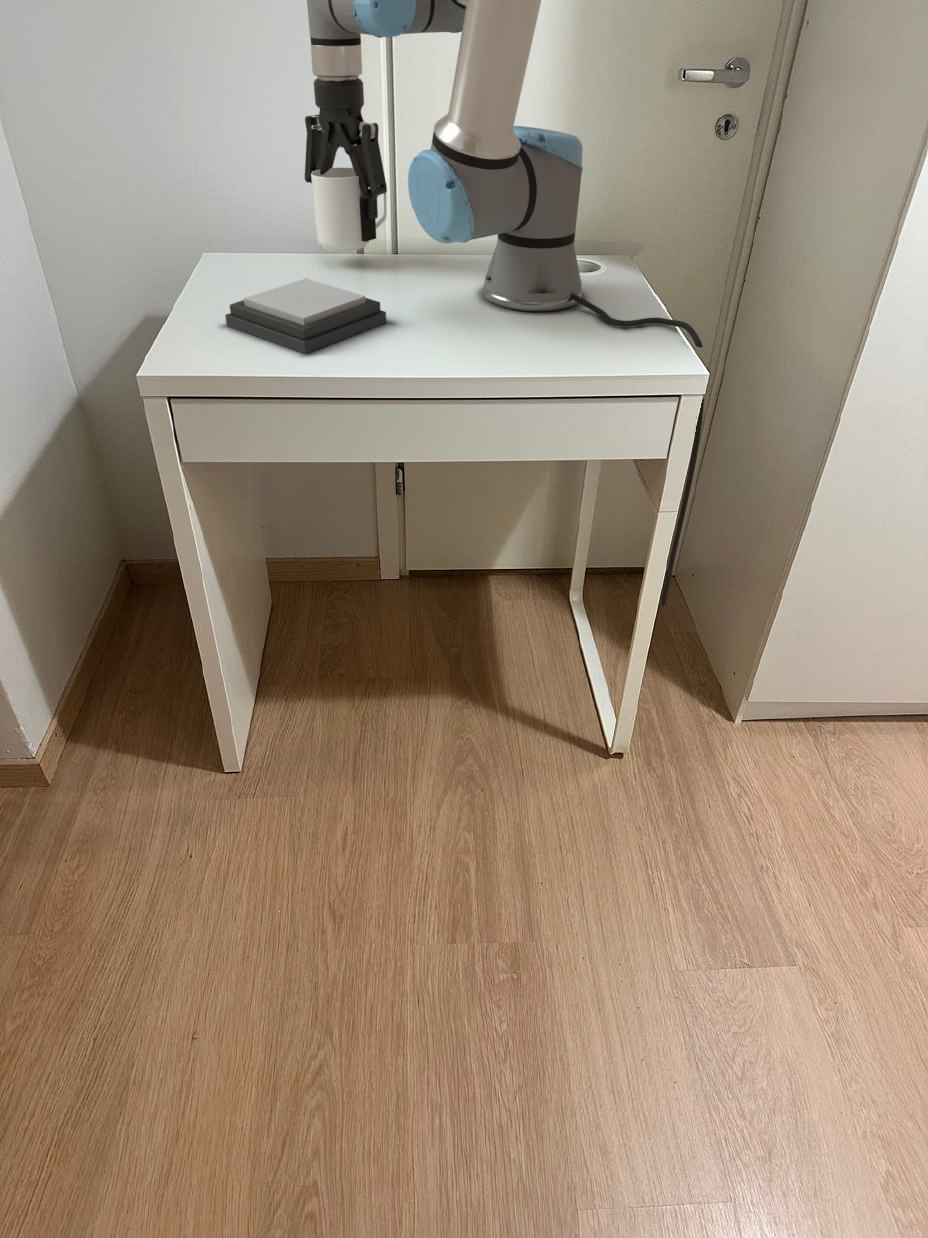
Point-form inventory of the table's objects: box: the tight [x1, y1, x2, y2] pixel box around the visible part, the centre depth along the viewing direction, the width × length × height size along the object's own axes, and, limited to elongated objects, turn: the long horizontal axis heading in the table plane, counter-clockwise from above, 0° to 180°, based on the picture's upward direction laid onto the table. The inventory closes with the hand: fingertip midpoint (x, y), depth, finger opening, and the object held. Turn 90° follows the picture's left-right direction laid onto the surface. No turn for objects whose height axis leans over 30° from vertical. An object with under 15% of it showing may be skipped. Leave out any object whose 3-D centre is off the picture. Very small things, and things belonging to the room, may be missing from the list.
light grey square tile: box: [243, 278, 367, 326], centre depth 124 cm, size 12×12×1 cm
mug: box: [311, 167, 388, 252], centre depth 144 cm, size 12×9×11 cm
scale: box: [224, 297, 387, 355], centre depth 125 cm, size 16×16×3 cm
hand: (348, 234), depth 147 cm, fingers closed on mug, 9 cm apart
